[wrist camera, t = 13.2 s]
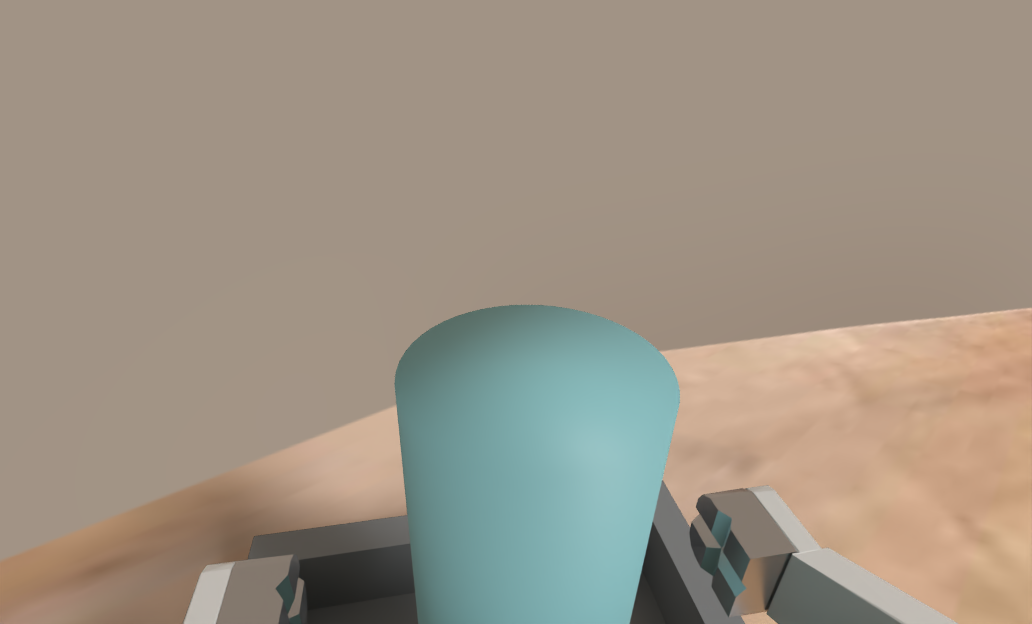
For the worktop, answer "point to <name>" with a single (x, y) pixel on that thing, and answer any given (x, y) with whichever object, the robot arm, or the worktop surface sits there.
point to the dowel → (531, 464)
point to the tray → (390, 582)
